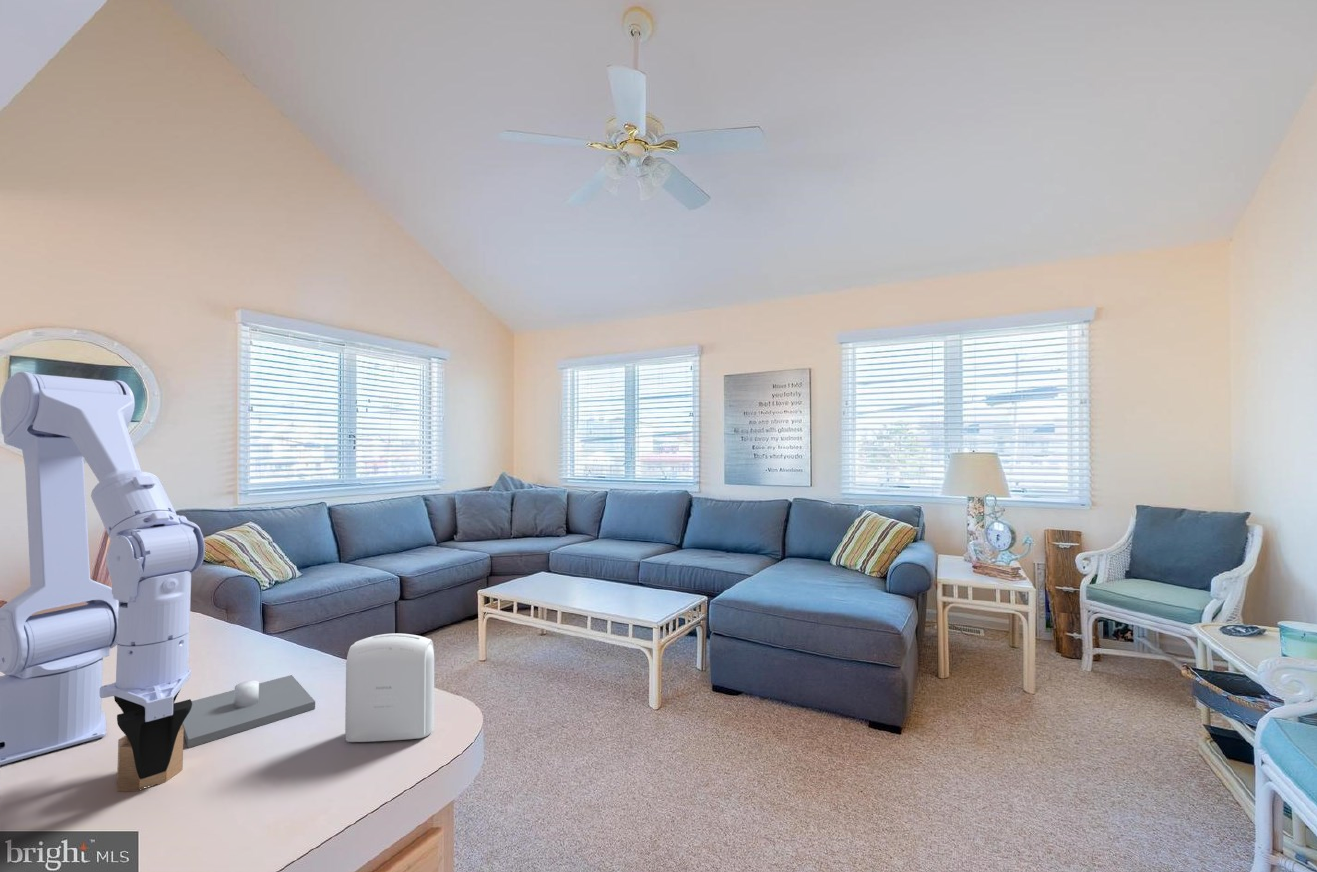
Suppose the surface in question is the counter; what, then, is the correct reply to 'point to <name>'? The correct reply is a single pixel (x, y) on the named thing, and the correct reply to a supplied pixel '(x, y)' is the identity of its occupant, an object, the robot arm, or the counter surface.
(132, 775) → the octagonal cardboard bin
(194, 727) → the plate
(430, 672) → the photo printer
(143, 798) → the counter surface
